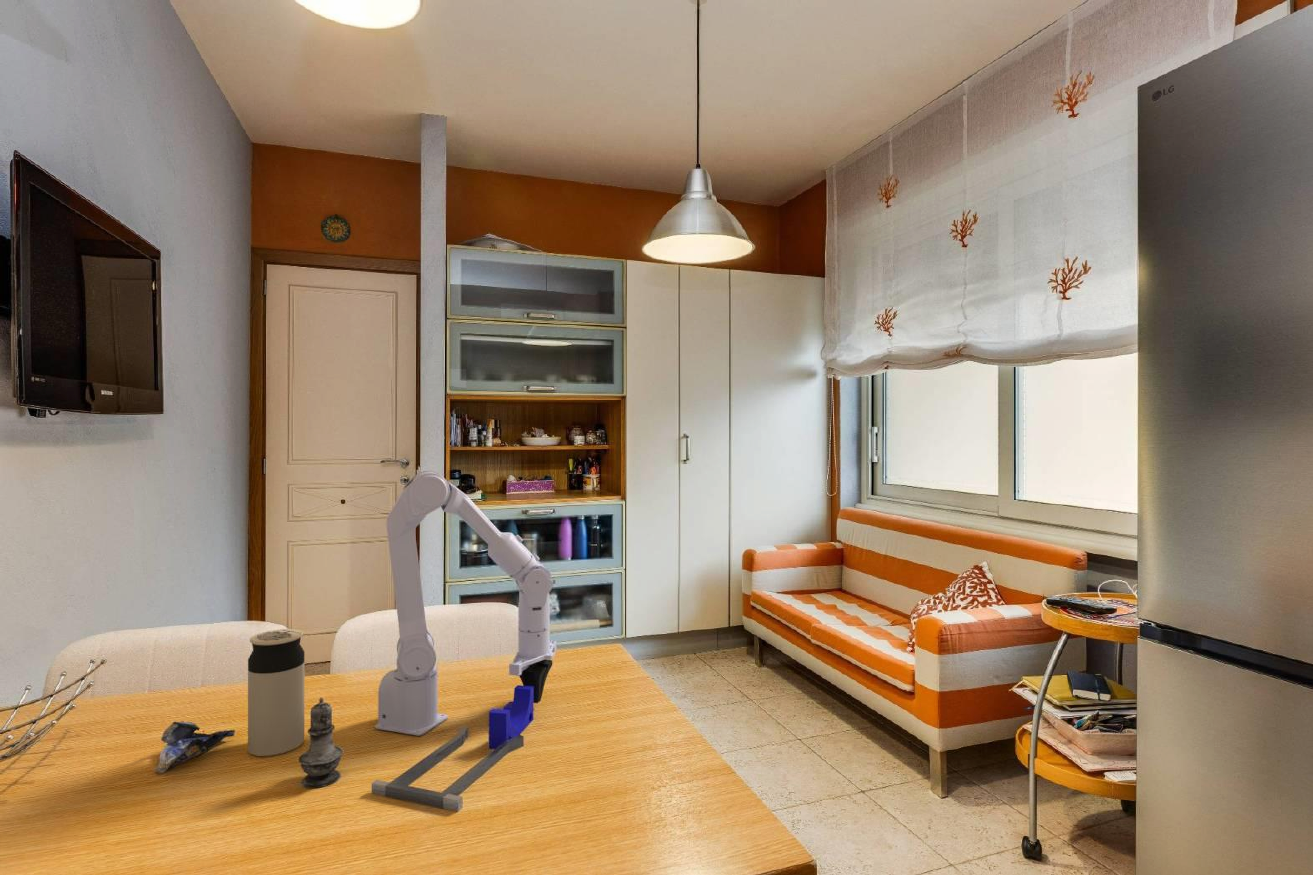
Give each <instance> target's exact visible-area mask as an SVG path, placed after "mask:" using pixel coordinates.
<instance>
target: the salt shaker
mask: <svg viewBox="0 0 1313 875" xmlns="http://www.w3.org/2000/svg"><path fill="white" fill-rule="evenodd" d="M324 700H325V699H323V697H320V698H319V699H318V702H317V703H316V704H315V705H313V706H312V707H311V709H310V727H309V728H308V729H307V734H309V746H308V750H307V751H305V752H303V753H301V755H299V757H298V762H299V763H300V767H301V770H302V772H303V773H305V774H306V775H305V776H304V777H303V778H302V780H300V785H301V786H302V788H305V789H311V790H312V789H314V790H315V789H321V788H327V787H329V786H331V785H333V784H335V783H337V782H338V781H339V780H340V779H341V778H342V774H341V772H340V771H339V770H337V768H338V766H339V765H340V762H341V759H342V756H343V754H344V749H343V748H342V747H340V746H338V745H334V742H333V730H334V729H335V727H336V726H335V725H334V724H332V723H333V719H332V718H333V716H332V715H333V707H332V705H331V704H330V703H328V702H325V701H324Z"/></svg>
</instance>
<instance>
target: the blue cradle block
mask: <svg viewBox="0 0 1313 875" xmlns="http://www.w3.org/2000/svg"><path fill="white" fill-rule="evenodd" d="M513 692H514V693H513V700H512V701H511V700H510V701H509V702H507V703H506V704H505V705H504V706H503V708H502V709H501V708H492V709H491V710H490V711H489V712H488V749H489V750H494V749H495V748H497V747H498V746H499V745H500V744H502V743H503V742H504V741H507V740H509V739H511V738H513V737H516V736H518V735H521V734H522V733H523V732H524V731H525V729H527V727H528V726H530V724H531V723H532V721H533V720H534V703H533V701H534V686H523V685H519V684H518V685H515V687H514V691H513Z"/></svg>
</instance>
